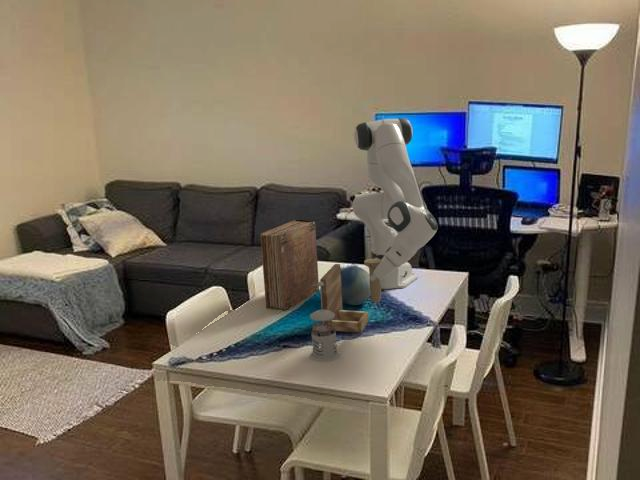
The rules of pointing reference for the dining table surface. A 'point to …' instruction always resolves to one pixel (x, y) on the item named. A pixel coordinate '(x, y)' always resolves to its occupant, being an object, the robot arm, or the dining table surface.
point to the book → (289, 264)
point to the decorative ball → (355, 285)
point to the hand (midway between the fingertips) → (372, 276)
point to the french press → (323, 336)
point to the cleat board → (340, 304)
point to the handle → (374, 285)
